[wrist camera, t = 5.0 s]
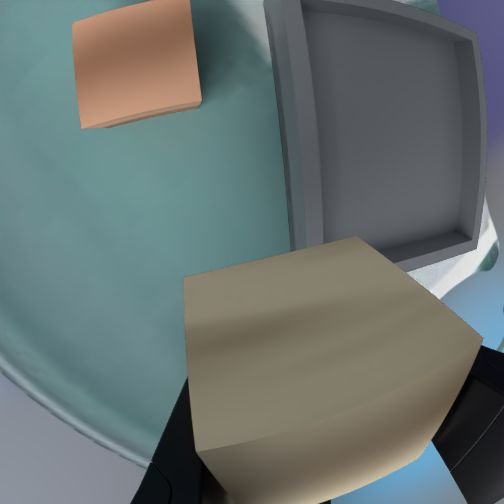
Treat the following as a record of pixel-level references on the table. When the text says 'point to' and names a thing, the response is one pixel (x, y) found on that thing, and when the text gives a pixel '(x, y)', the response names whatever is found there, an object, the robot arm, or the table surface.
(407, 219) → the charcoal tray
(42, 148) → the table surface
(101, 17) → the terracotta block
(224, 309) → the birch block
